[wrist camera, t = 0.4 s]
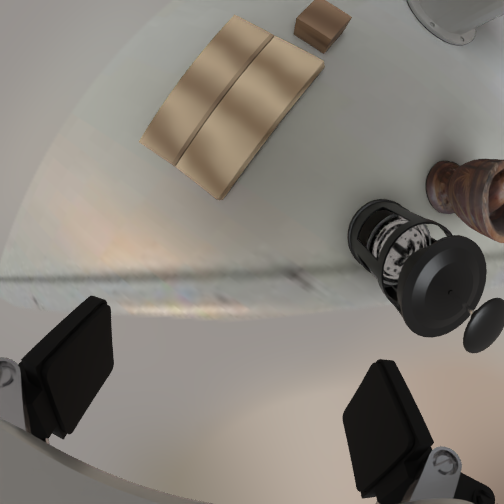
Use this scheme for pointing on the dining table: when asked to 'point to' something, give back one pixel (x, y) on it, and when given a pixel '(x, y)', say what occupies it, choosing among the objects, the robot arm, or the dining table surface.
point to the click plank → (248, 115)
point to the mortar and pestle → (470, 194)
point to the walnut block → (321, 24)
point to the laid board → (203, 88)
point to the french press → (428, 275)
